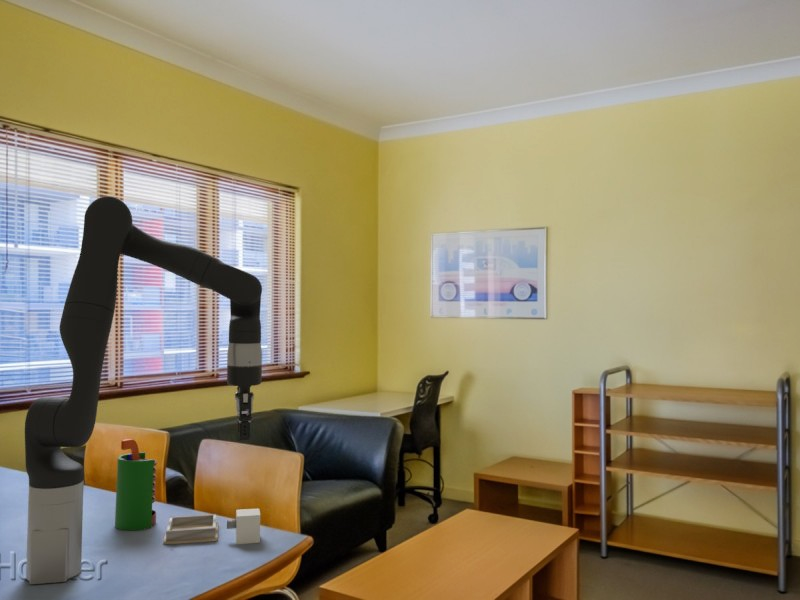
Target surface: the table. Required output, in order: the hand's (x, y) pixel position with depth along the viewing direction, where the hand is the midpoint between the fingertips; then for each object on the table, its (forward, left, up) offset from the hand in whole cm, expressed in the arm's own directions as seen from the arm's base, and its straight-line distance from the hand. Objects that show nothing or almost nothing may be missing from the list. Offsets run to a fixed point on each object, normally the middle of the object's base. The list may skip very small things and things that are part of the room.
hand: (243, 435), depth 146 cm
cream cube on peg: (-2, -1, -23) cm, 23 cm away
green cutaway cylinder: (+14, +24, -23) cm, 36 cm away
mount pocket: (+4, +11, -23) cm, 25 cm away
